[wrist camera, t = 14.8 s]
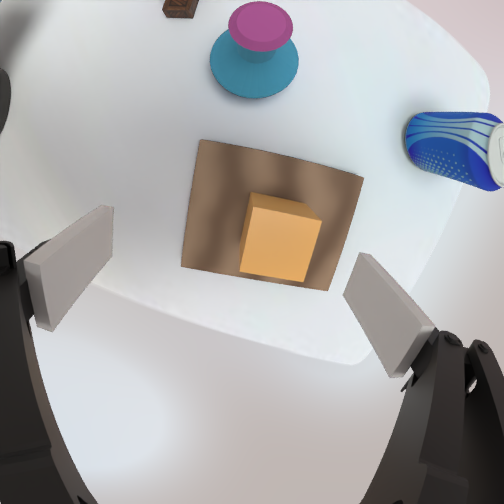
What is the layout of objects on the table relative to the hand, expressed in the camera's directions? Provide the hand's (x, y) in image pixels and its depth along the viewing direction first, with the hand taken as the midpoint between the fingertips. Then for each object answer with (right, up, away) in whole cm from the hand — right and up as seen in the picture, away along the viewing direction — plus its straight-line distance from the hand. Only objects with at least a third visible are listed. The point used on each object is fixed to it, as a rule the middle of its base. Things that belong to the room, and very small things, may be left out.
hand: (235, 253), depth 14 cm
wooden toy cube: (+3, +3, +19) cm, 20 cm away
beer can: (+25, +16, +18) cm, 35 cm away
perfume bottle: (+1, +22, +14) cm, 26 cm away
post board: (+3, +4, +22) cm, 22 cm away
